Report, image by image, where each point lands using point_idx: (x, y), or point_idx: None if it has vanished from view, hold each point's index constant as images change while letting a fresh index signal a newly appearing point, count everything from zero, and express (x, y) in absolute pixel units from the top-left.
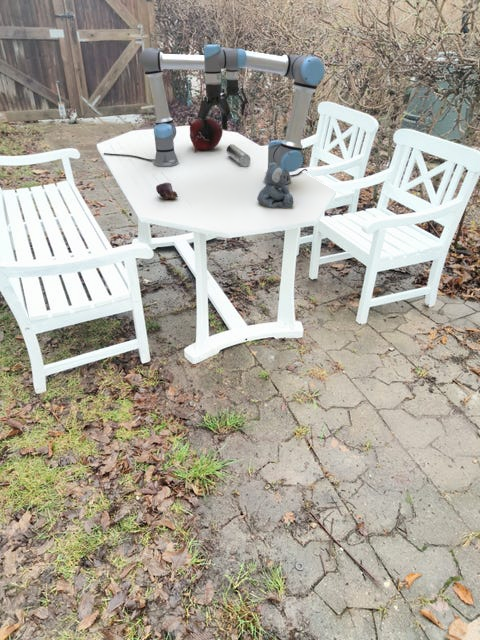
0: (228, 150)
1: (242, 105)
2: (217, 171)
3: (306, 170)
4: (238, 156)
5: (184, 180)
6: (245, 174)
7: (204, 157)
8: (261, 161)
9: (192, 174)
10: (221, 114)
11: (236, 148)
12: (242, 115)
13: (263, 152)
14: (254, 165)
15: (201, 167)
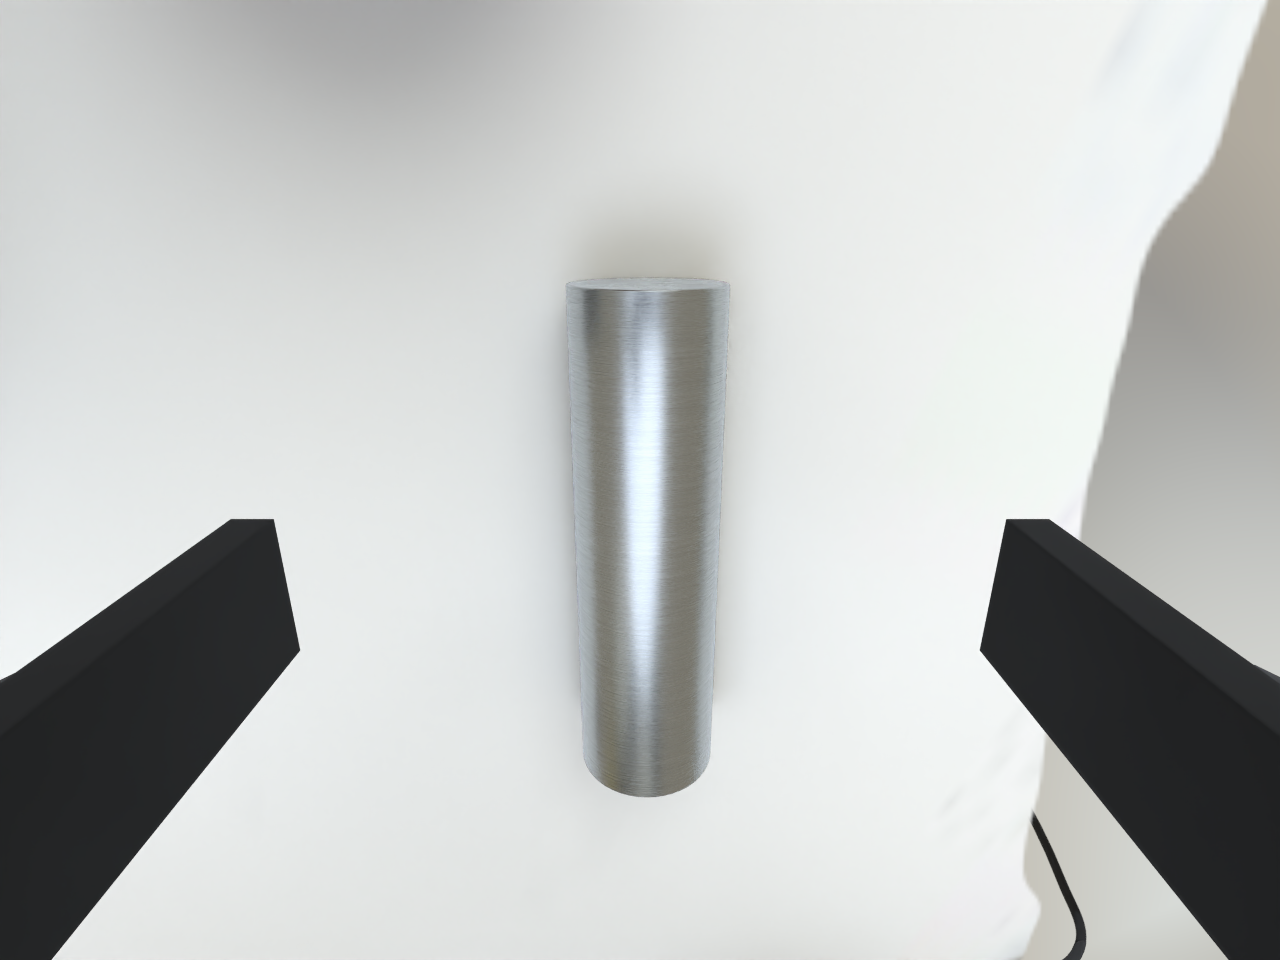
0: (571, 378)
1: (1258, 955)
2: (359, 749)
3: (1073, 953)
4: (588, 727)
5: None
6: (574, 881)
7: (284, 206)
8: (878, 605)
9: None
10: (196, 556)
11: (640, 537)
12: (986, 639)
13: (1116, 248)
14: (748, 700)
15: None
